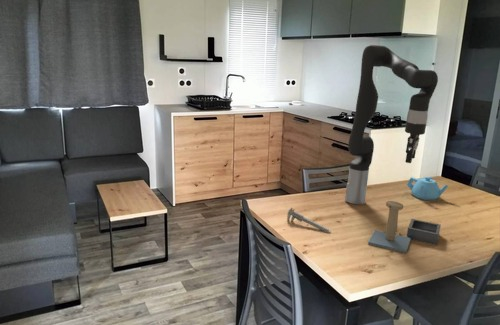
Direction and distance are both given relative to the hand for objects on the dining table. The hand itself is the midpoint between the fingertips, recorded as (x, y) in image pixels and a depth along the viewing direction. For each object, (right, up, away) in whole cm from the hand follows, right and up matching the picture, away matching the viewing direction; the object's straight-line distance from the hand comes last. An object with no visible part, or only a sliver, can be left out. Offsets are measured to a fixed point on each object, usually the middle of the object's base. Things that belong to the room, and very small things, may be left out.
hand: (410, 160), depth 166 cm
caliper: (-41, -28, +6) cm, 50 cm away
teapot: (+27, -19, +49) cm, 59 cm away
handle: (-10, -31, -6) cm, 34 cm away
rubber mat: (-11, -32, -6) cm, 34 cm away
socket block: (+5, -31, 0) cm, 32 cm away
